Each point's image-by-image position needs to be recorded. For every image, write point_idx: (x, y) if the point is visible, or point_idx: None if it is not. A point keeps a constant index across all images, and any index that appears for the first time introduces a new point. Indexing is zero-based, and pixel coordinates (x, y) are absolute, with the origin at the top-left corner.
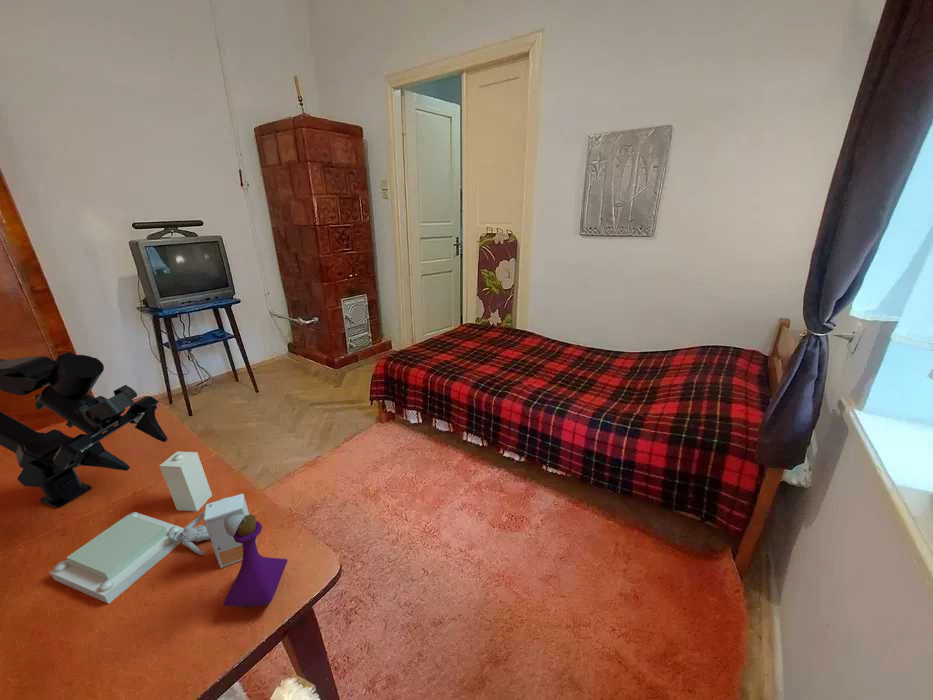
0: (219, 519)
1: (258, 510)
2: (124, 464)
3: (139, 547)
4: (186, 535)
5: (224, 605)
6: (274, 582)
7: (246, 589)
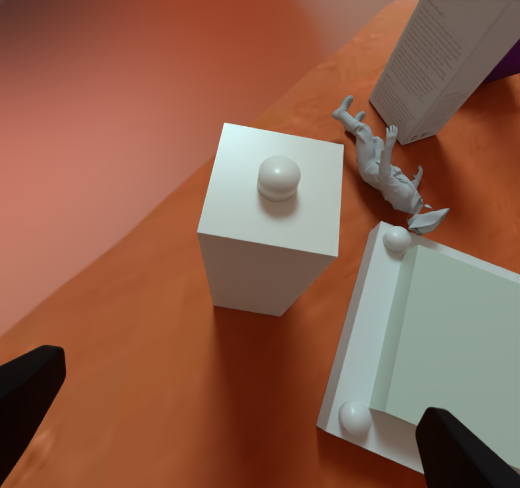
0: None
1: (290, 117)
2: (468, 442)
3: (487, 273)
4: (416, 192)
5: None
6: None
7: None
